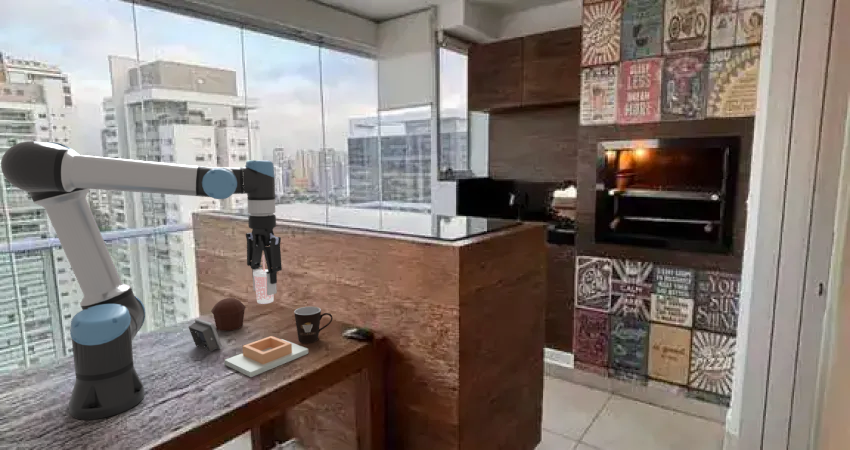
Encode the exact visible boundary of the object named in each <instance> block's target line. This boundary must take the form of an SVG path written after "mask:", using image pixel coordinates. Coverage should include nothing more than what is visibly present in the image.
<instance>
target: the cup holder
mask: <svg viewBox="0 0 850 450" xmlns="http://www.w3.org/2000/svg"><path fill="white" fill-rule="evenodd" d="M307 354H309V348H307V347H306V346H305V347H304V346H302V345H299V344H296V343H294V342H292V341H289V340H285V339H283V338H278V337H275V336H274V335H270V336H267V337H264V338H261V339H259V340H256V341H253V342H250V343H247V344H245V345H242V353H240V354H236V355H234V356H231V357H228V358H225V359H224V365H225V366H226V367H229V368H231V369H233V370H235V371H237V372H240V373H241V374H243V375H245V376H247V377H250V378H252V377H255V376H257V375H260V374H262V373H265V372H268V371H270V370H272V369H275V368H277V367H280V366H281V365H284V364H285V363H286V364H288V363H289V362H292V361H293V360H296V359H298V358H301V357H303V356H306V355H307Z"/></svg>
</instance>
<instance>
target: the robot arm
mask: <svg viewBox="0 0 850 450" xmlns="http://www.w3.org/2000/svg"><path fill="white" fill-rule="evenodd" d="M2 155H3V156H2V159H1V161H0V168H1V173H2V174H3V176H4V178H5V180H7V181H8V182H9V184H11V185H12V186H13V187H15V188H17V189H19V190H22V191H25V192H28V193H29V195H30V198H31V199H32V201H33V203H34V204H36V205H38V206H41V207H43V208H44V210H45V212H46V214H47V215H48V218H49V220H50V223H51V226H52V227H53V229H54V231H55V234H56V236H57V239H58V241H59V243H60V245H61V247H62V250H63V251H64V253H65V256H66V259H67V260H68V262H69V265H70V267H71V269H72V272H73V274H74V277H75V278H76V281H77V283H78V284H79V287H80V289H81V292H82V294H83V298H82V299H81V302H80V303H79V305H80V307H81V309H82V310H80V311H79V312H77V313H76V314H75V315H74V316H73V317H72V319H71V321H70V329H69V330H70V331H69V332H70V338H71V344H72V354H73V363H74V373H75V382H74V386H73V389H72V392H71V396H70V398H69V404H68V407H69V408H68V409H69V414H70V416H72V417H73V418H74V419H77V420H99V419H104V418H108V417H112V416H116V415H118V414H119V415H120V414H121V413H123V412H126V411H128V410H131V409H132V408H134V407H135V406H137V405H139V404H140V403H141V402H142V401H143V399H144V398H145V387H144V384H143V382H142V380H141V378H140V376H139V375H138V373H137V370H136V369H135V365H134V354H133V353H134V352H133V341H134V339H135V337H136V336H137V334H138V333H139V331H141V329H142V327H143V324H145V323H144V322H145V320H146V319H145V318H146V309H145V308H146V307H145V305H144V303H143V302H142V300H141V299H139V298H138V297H137V296H136V295H135V294H134V292H133V289H132V287H131V285H129V284H126V283H123V282H122V281H121V278H120V275H119V274H118V271H117V269H116V266H115V264H114V262H113V259H112V257H111V255H110V252H109V249H108V248H107V245H106V243H105V241H104V238H103V236H102V234H101V231H100V229H99V225H98V224H97V221H96V219H95V216H94V215H93V212H92V209H91V207H90V206H89V203H88V200H87V195H88V193H89V192H90V190H100V191H115V192H118V191H119V192H134V193H144V194H145V193H147V194H162V195H174V196H177V195H178V196H189V197H201V198H212V199H213V200H214V199H215V200H225V199H228V198H230V197H231V196H232V195H243V194H245V195H247V214H249V215H248V217H247V218H248V220H247V221H248V228H249V229H252V230H251V232H247V233H245V238H246V265H247V266H248V267H250V269H251V270H252V273H251V274H252V289H253V292H256V288H255V278H254V275H253V272H254V271H257V270H263V264H261V263H262V259H263V255H264V257H265V262H266V267H267V269H268V272H266V276H267V295H272V294H274V295H275V294H277V292H278V291H277V287H278V286H277V283H278V277H277V273H278V272H280V271H282V270H283V269H282V268H283V267H282V253H281V240H282V238H281V236H276V235H275V232H274V228H276V227H277V217H276V214H275V213H276V186H275V185H276V183H275V182H276V179H275V178H276V177H275V166H274V163H273V161H271V160H268V159H267V160H263V159H257V160H253V159H252V160H250V159H248V160H246V162H245V166H240V167H239V166H238V167H235V166H199V165H190V164H178V163H171V162H170V163H168V162H160V161H159V162H157V161H148V160H137V159H135V160H134V159H127V158H115V157H104V156H94V155H83V154H81V155H80V153H78V152H77V151H76V150H74V149H73V148H71V147H69V146H67V145H65V144H62V143H59V142H53V141H47V142H43V141H35V140H34V141H31V140H30V141H22V142H19V143H17V144H14V145H13V146H11V147H9V148H8V149H6V151H5V153H4V154H2Z"/></svg>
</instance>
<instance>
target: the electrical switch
mask: <svg viewBox="0 0 850 450" xmlns="http://www.w3.org/2000/svg"><path fill="white" fill-rule="evenodd" d="M188 329H189V332H190V335H191V337H192V339H193V342H194V345H195V347H197V348H199V349H202V350H204V351H207V352H209V353H212V352H213V351H214V350H216V349H219V350H220V349H222V347H223V346H222V342H221V340H220V337H219V335H218V332H217V331H218V330H217V328H216V325H215V324H214V323H213V322H210V321H206V320H203V319H200V318H195V319H194V323H192V324H191V325H188Z"/></svg>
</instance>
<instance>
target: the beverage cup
mask: <svg viewBox="0 0 850 450" xmlns="http://www.w3.org/2000/svg"><path fill="white" fill-rule="evenodd" d="M265 262H266V259H265V254H262V270H257V271H254V272H253V275H254V278H255V288H256V291H255V295H256V296H255V297H256V302H257V304H260V305H261V304H262V305H263V304H264V305H267V304H271V303H273V302H274V301H275V300H274V295H275V294H272V295H267V276H266V272H268V268H267V269H266V266H265V265H266V264H265Z"/></svg>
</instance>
